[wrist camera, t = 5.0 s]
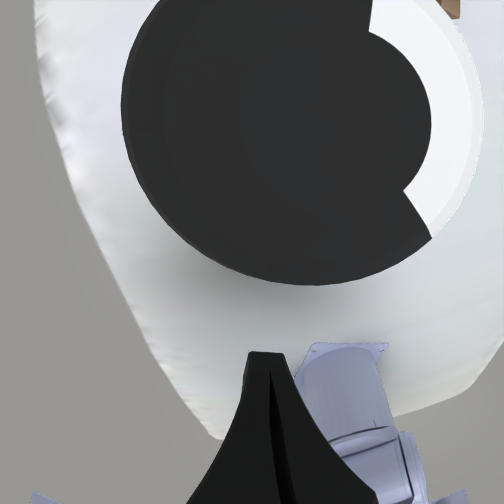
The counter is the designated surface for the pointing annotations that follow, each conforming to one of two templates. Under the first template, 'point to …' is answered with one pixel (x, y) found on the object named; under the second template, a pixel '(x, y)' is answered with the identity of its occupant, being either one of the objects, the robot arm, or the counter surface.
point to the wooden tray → (451, 7)
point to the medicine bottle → (303, 130)
